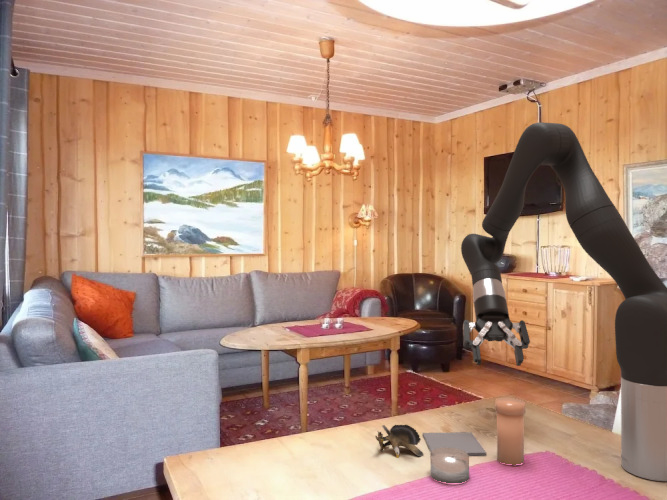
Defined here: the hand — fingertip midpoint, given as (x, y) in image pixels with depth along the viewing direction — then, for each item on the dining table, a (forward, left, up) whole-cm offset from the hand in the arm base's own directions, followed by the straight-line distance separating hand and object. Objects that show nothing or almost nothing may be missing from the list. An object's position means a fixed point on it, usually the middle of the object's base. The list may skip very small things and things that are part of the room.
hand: (499, 363), depth 109 cm
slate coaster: (+11, +3, -17) cm, 20 cm away
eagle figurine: (+23, +7, -17) cm, 29 cm away
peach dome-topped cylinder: (+1, +11, -17) cm, 20 cm away
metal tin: (+15, +17, -17) cm, 28 cm away
